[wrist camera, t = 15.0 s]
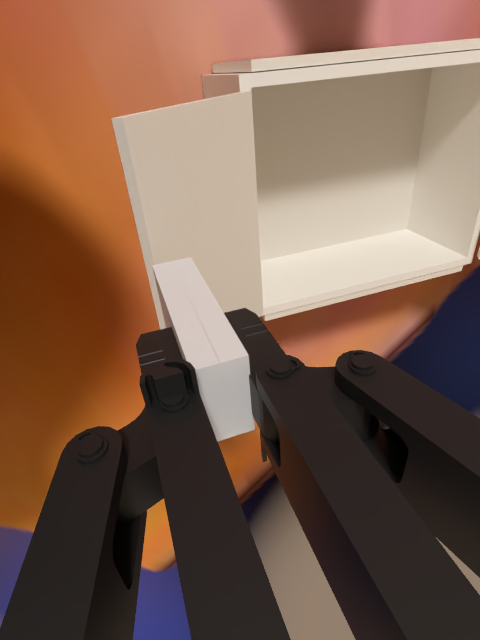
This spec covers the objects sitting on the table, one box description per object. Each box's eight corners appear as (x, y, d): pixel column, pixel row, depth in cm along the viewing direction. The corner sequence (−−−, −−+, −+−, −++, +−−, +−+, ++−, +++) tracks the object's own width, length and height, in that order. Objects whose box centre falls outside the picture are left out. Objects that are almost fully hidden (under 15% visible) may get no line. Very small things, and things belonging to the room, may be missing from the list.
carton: (224, 278, 33) (256, 324, 27) (200, 64, 25) (237, 60, 19) (406, 237, 37) (469, 269, 31) (437, 42, 29) (532, 32, 23)
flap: (122, 118, 13) (111, 118, 13) (184, 401, 19) (176, 398, 20) (251, 90, 19) (241, 91, 19) (263, 312, 26) (256, 311, 26)
